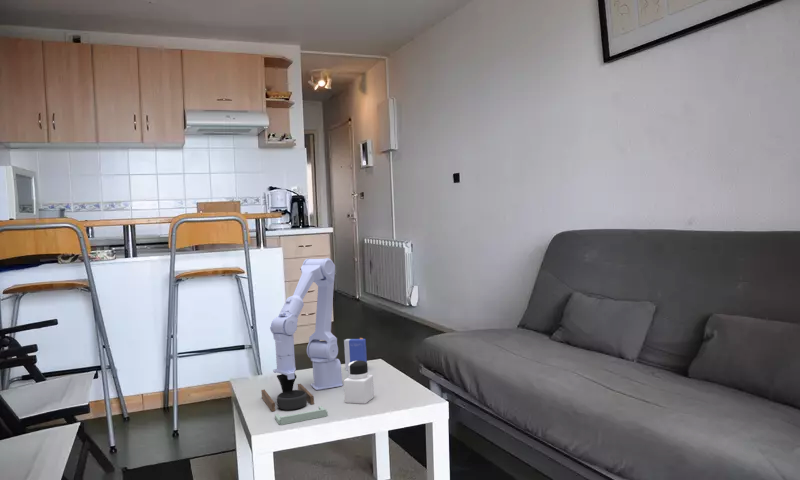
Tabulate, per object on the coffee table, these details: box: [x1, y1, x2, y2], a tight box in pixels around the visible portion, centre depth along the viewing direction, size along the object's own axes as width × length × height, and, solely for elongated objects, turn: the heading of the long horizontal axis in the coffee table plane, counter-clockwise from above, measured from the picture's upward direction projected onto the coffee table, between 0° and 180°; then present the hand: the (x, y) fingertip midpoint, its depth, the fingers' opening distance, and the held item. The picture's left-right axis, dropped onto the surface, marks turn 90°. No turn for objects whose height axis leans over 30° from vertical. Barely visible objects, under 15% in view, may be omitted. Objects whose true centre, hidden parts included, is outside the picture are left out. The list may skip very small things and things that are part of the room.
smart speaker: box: [276, 389, 308, 411], centre depth 173 cm, size 9×9×4 cm
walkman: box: [343, 337, 368, 372], centre depth 214 cm, size 8×3×12 cm, turn 77°
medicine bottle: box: [343, 361, 375, 404], centre depth 176 cm, size 7×7×12 cm
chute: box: [260, 383, 315, 412], centre depth 179 cm, size 13×17×2 cm
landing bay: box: [274, 405, 329, 426], centre depth 162 cm, size 14×6×2 cm, turn 114°
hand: (287, 397), depth 178 cm, fingers closed
